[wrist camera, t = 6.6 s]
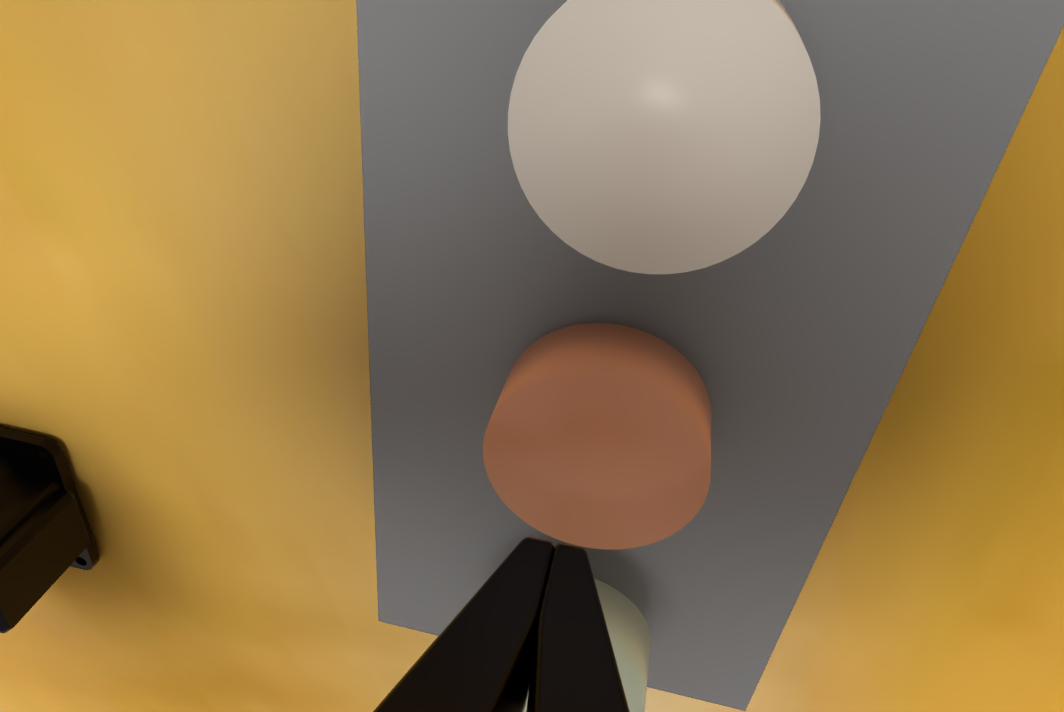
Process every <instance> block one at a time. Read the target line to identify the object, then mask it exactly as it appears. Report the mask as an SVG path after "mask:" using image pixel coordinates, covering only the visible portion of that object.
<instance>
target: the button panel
mask: <svg viewBox="0 0 1064 712" xmlns="http://www.w3.org/2000/svg"><path fill="white" fill-rule="evenodd" d="M566 1H567V0H356V4H357V32H358V60H359V88H360V115H361V143H362V171H363V199H364V227H365V255H366V283H367V311H368V339H369V367H370V394H371V422H372V450H373V478H374V506H375V534H376V562H377V590H378V618H379V621H381V622H385V623H389V624H393V625H397V626H401V627H405V628H409V629H413V630H417V631H421V632H426V633H430V634H434V635H438V636H439V635H440V634H441V633H442V631H443V630H444V629H445V628H446V627H447V626H448V624H449V623H450V622H451V621H452V620H453V619H454V618H455V616H456V615H457V614H458V613H459V612H460V611H461V609H462V608H463V607H464V606H465V605H466V604H467V603H468V601H469V600H470V599H471V598H472V597H473V596H474V594H475V593H476V592H477V591H478V590H479V589H480V588H481V586H482V585H483V584H484V583H485V582H486V581H487V579H488V578H489V577H490V576H491V575H492V574H493V573H494V571H495V570H496V569H497V568H498V567H499V566H500V564H501V563H502V562H503V561H504V560H505V559H506V557H507V556H508V555H509V554H510V553H511V552H512V551H513V549H514V548H515V547H516V546H517V545H518V544H519V542H520V541H521V540H522V539H524V538H526V537H533V538H538V539H543V540H548V541H551V542H552V543H553V544H554V548H555V546H556V545H557V544H559V543H563V544H568V545H573V546H577V545H574V544H570V543H566V542H563V541H561V540H558V539H555V538H553V537H550V536H548V535H546V534H544V533H542V532H540V531H538V530H537V529H535V528H533V527H532V526H530V525H528V524H527V523H526V522H524V521H523V520H522V519H520V518H519V517H518V516H517V515H516V514H515V513H513V512H512V511H511V510H510V509H509V508H508V507H507V506H506V504H505V503H504V502H503V501H502V500H501V499H500V497H499V496H498V494H497V493H496V491H495V490H494V488H493V486H492V484H491V482H490V480H489V478H488V475H487V472H486V469H485V465H484V459H483V441H484V435H485V432H486V429H487V426H488V423H489V421H490V419H491V416H492V414H493V411H494V409H495V406H496V404H497V401H498V399H499V396H500V394H501V392H502V389H503V387H504V384H505V382H506V379H507V377H508V374H509V372H510V370H511V368H512V366H513V364H514V363H515V361H516V360H517V358H518V357H519V356H520V355H521V353H522V352H523V351H524V350H525V349H526V348H528V347H529V346H530V345H531V344H532V343H534V342H535V341H536V340H538V339H539V338H541V337H543V336H545V335H547V334H549V333H551V332H553V331H556V330H558V329H561V328H564V327H568V326H573V325H577V324H587V323H609V324H617V325H623V326H627V327H631V328H635V329H638V330H641V331H644V332H646V333H649V334H651V335H653V336H655V337H657V338H659V339H661V340H663V341H665V342H666V343H668V344H669V345H671V346H672V347H674V348H675V349H676V350H677V351H679V352H680V353H681V354H682V355H683V356H684V357H685V358H686V359H687V360H688V361H689V362H690V363H691V364H692V365H693V366H694V368H695V369H696V371H697V372H698V374H699V375H700V377H701V378H702V380H703V382H704V384H705V387H706V389H707V392H708V395H709V398H710V403H711V411H712V418H711V477H710V486H709V490H708V494H707V496H706V499H705V501H704V504H703V505H702V507H701V508H700V510H699V511H698V513H697V514H696V515H695V516H694V518H693V519H692V520H691V521H690V522H689V523H688V524H687V525H685V526H684V527H683V528H682V529H681V530H679V531H677V532H676V533H674V534H673V535H671V536H669V537H667V538H665V539H663V540H660V541H658V542H655V543H652V544H649V545H646V546H641V547H636V548H629V549H608V550H606V549H594V548H588V547H582V546H578V547H582V548H584V549H585V550H586V552H587V554H588V557H589V561H590V565H591V568H592V572H593V576H594V579H597V580H599V581H601V582H603V583H605V584H607V585H609V586H611V587H613V588H614V589H616V590H618V591H619V592H620V593H622V594H623V595H624V596H626V597H627V598H628V599H629V600H630V601H631V602H632V603H633V604H634V605H635V606H636V607H637V608H638V609H639V611H640V612H641V613H642V615H643V616H644V618H645V620H646V622H647V624H648V627H649V631H650V636H651V644H650V656H649V667H648V678H647V687H650V688H654V689H658V690H662V691H666V692H670V693H674V694H678V695H682V696H687V697H691V698H695V699H699V700H703V701H707V702H711V703H715V704H719V705H723V706H727V707H731V708H735V709H740V710H744V711H745V710H746V708H747V706H748V704H749V701H750V699H751V697H752V695H753V693H754V691H755V689H756V686H757V684H758V682H759V680H760V678H761V676H762V673H763V671H764V669H765V667H766V665H767V663H768V661H769V658H770V656H771V654H772V652H773V650H774V648H775V646H776V643H777V641H778V639H779V637H780V635H781V633H782V630H783V628H784V626H785V624H786V622H787V620H788V618H789V615H790V613H791V611H792V609H793V607H794V605H795V603H796V600H797V598H798V596H799V594H800V592H801V590H802V587H803V585H804V583H805V581H806V579H807V577H808V575H809V572H810V570H811V568H812V566H813V564H814V562H815V559H816V557H817V555H818V553H819V551H820V549H821V547H822V544H823V542H824V540H825V538H826V536H827V534H828V532H829V529H830V527H831V525H832V523H833V521H834V519H835V516H836V514H837V512H838V510H839V508H840V506H841V504H842V501H843V499H844V497H845V495H846V493H847V491H848V489H849V486H850V484H851V482H852V480H853V478H854V476H855V473H856V471H857V469H858V467H859V465H860V463H861V461H862V458H863V456H864V454H865V452H866V450H867V448H868V445H869V443H870V441H871V439H872V437H873V435H874V433H875V430H876V428H877V426H878V424H879V422H880V420H881V418H882V415H883V413H884V411H885V409H886V407H887V405H888V402H889V400H890V398H891V396H892V394H893V392H894V390H895V387H896V385H897V383H898V381H899V379H900V377H901V375H902V372H903V370H904V368H905V366H906V364H907V362H908V359H909V357H910V355H911V353H912V351H913V349H914V347H915V344H916V342H917V340H918V338H919V336H920V334H921V332H922V329H923V327H924V325H925V323H926V321H927V319H928V316H929V314H930V312H931V310H932V308H933V306H934V304H935V301H936V299H937V297H938V295H939V293H940V291H941V288H942V286H943V284H944V282H945V280H946V278H947V276H948V273H949V271H950V269H951V267H952V265H953V263H954V261H955V258H956V256H957V254H958V252H959V250H960V248H961V245H962V243H963V241H964V239H965V237H966V235H967V233H968V230H969V228H970V226H971V224H972V222H973V220H974V218H975V215H976V213H977V211H978V209H979V207H980V205H981V202H982V200H983V198H984V196H985V194H986V192H987V190H988V187H989V185H990V183H991V181H992V179H993V177H994V174H995V172H996V170H997V168H998V166H999V164H1000V162H1001V159H1002V157H1003V155H1004V153H1005V151H1006V149H1007V147H1008V144H1009V142H1010V140H1011V138H1012V136H1013V134H1014V131H1015V129H1016V127H1017V125H1018V123H1019V121H1020V119H1021V116H1022V114H1023V112H1024V110H1025V108H1026V106H1027V104H1028V101H1029V99H1030V97H1031V95H1032V93H1033V91H1034V88H1035V86H1036V84H1037V82H1038V80H1039V78H1040V76H1041V73H1042V71H1043V69H1044V67H1045V65H1046V63H1047V61H1048V58H1049V56H1050V54H1051V52H1052V50H1053V48H1054V45H1055V43H1056V41H1057V39H1058V37H1059V35H1060V33H1061V30H1062V28H1063V26H1064V0H780V1H781V3H782V4H783V6H784V7H785V9H786V10H787V11H788V13H789V15H790V17H791V19H792V21H793V23H794V25H795V27H796V29H797V31H798V33H799V35H800V37H801V39H802V42H803V44H804V46H805V48H806V51H807V53H808V55H809V57H810V60H811V63H812V66H813V70H814V73H815V76H816V79H817V85H818V91H819V97H820V117H821V121H820V131H819V140H818V145H817V149H816V153H815V157H814V161H813V164H812V166H811V169H810V171H809V174H808V177H807V179H806V181H805V183H804V185H803V187H802V189H801V191H800V192H799V194H798V196H797V198H796V200H795V201H794V202H793V204H792V205H791V206H790V208H789V209H788V211H787V212H786V213H785V215H784V216H783V217H782V218H781V219H780V220H779V221H778V222H777V223H776V224H775V226H774V227H773V228H772V229H771V230H770V231H769V232H767V233H766V234H765V235H764V236H763V237H761V238H760V239H759V240H758V241H757V242H755V243H754V244H752V245H751V246H749V247H748V248H746V249H745V250H743V251H742V252H740V253H738V254H736V255H734V256H732V257H730V258H728V259H726V260H724V261H722V262H720V263H717V264H714V265H711V266H709V267H706V268H702V269H698V270H694V271H689V272H684V273H675V274H643V273H634V272H629V271H625V270H620V269H616V268H613V267H610V266H607V265H605V264H602V263H599V262H597V261H595V260H593V259H591V258H589V257H587V256H585V255H583V254H581V253H579V252H578V251H576V250H575V249H573V248H572V247H570V246H569V245H568V244H566V243H565V242H564V241H563V240H561V239H560V238H559V237H558V236H557V235H556V234H554V233H553V232H552V231H551V230H550V229H549V227H548V226H547V225H546V224H545V223H544V222H543V221H542V220H541V219H540V217H539V216H538V214H537V213H536V212H535V210H534V209H533V207H532V206H531V205H530V203H529V201H528V199H527V197H526V195H525V194H524V192H523V190H522V188H521V186H520V183H519V180H518V178H517V175H516V173H515V170H514V166H513V162H512V158H511V154H510V148H509V139H508V109H509V102H510V95H511V91H512V87H513V83H514V80H515V76H516V73H517V70H518V68H519V66H520V63H521V61H522V59H523V56H524V54H525V52H526V51H527V49H528V47H529V45H530V44H531V42H532V40H533V39H534V37H535V35H536V34H537V33H538V32H539V30H540V29H541V28H542V26H543V25H544V24H545V23H546V21H547V20H548V19H549V18H550V17H551V16H552V15H553V14H554V13H555V12H556V11H557V10H558V9H559V8H560V7H561V6H562V5H563V4H564V3H565V2H566Z"/></svg>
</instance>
